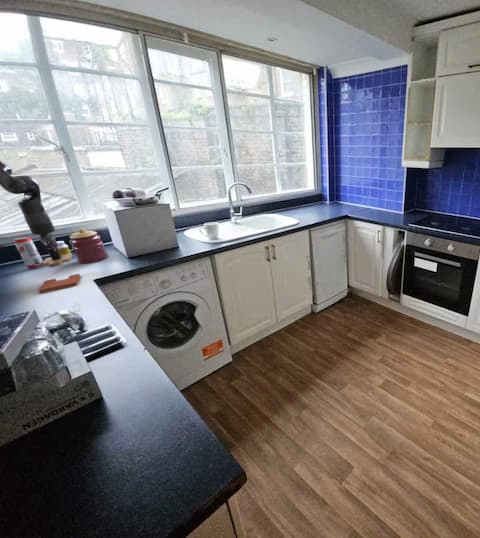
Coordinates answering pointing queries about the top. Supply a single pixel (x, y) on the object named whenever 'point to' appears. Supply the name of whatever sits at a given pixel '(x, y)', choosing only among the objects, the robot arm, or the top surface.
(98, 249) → the kitchen canister
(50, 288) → the rubber pad
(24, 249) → the beer can
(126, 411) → the top surface
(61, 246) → the supplement bottle
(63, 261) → the cork pad
